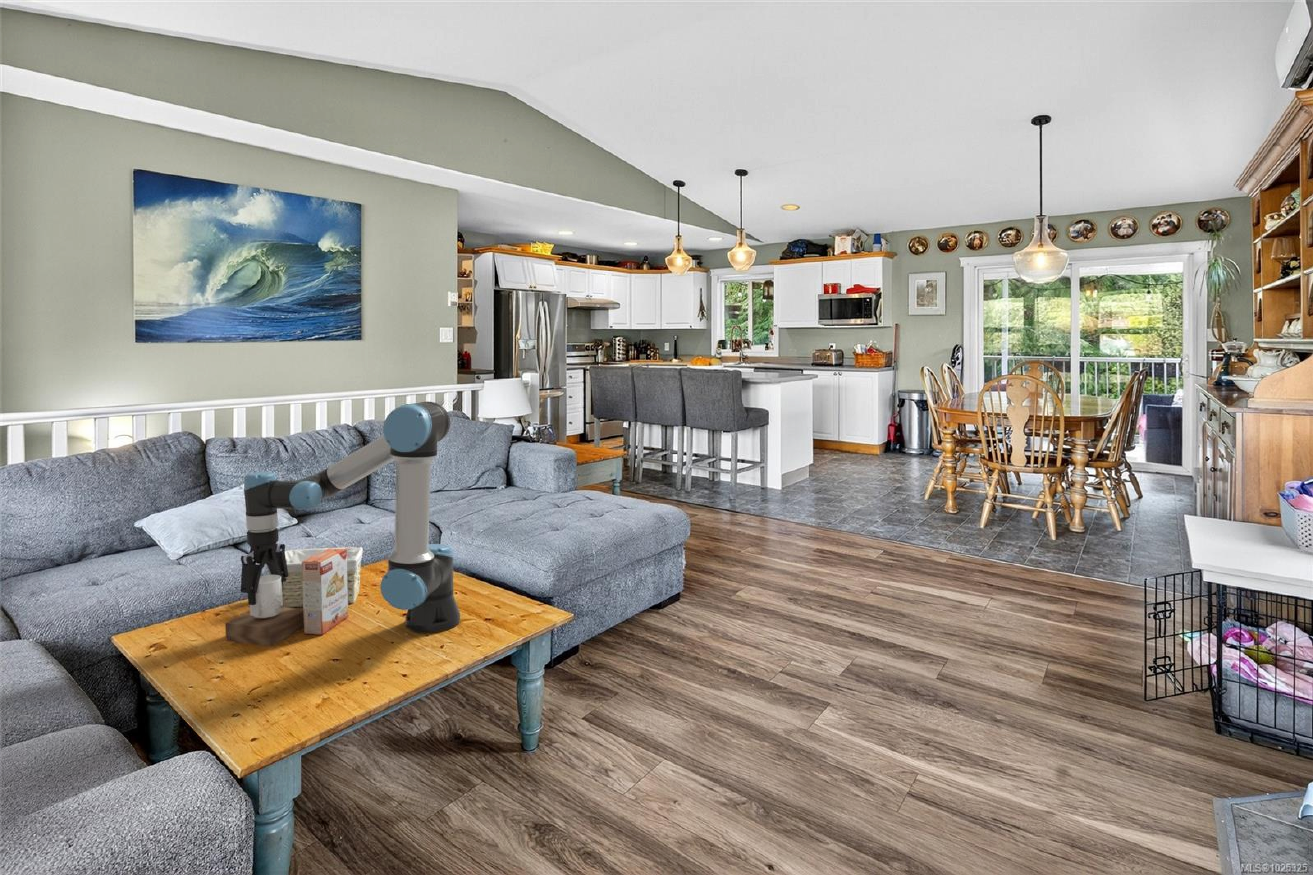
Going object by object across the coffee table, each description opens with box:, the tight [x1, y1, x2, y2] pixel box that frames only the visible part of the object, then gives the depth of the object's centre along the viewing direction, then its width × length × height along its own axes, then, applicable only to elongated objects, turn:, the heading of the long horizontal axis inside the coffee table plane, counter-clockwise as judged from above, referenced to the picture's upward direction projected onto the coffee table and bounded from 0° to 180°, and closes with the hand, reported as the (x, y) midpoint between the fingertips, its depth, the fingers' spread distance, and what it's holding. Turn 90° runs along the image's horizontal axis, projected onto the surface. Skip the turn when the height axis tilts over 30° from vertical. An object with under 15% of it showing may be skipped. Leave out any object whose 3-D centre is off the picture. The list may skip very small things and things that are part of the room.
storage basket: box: [281, 546, 364, 608], centre depth 224 cm, size 24×16×15 cm
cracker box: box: [302, 547, 349, 636], centre depth 202 cm, size 14×6×21 cm, turn 175°
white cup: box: [252, 574, 281, 618], centre depth 196 cm, size 8×8×10 cm
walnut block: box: [224, 607, 304, 647], centre depth 197 cm, size 14×14×5 cm
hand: (266, 609), depth 197 cm, fingers closed on white cup, 8 cm apart
